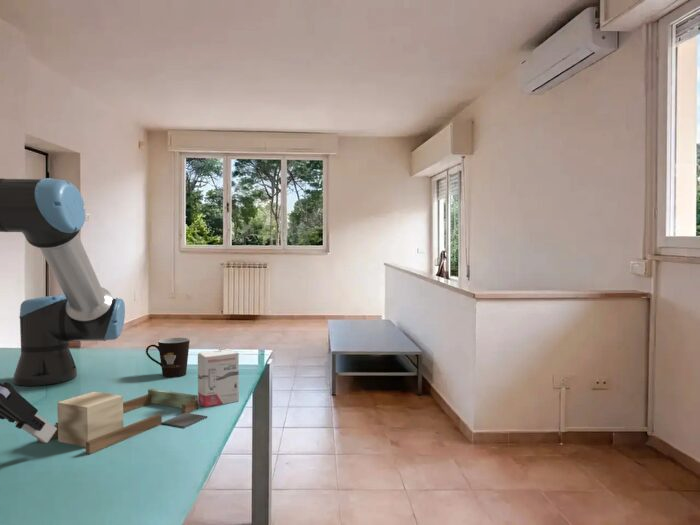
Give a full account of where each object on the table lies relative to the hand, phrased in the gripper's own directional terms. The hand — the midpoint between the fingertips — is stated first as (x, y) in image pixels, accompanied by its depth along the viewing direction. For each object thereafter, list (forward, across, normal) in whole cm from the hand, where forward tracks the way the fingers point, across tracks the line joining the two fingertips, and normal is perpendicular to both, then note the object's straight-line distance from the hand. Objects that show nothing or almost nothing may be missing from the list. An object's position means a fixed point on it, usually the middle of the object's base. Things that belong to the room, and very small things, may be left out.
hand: (49, 435), depth 91 cm
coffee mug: (+40, -22, +35) cm, 57 cm away
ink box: (+28, +8, +23) cm, 38 cm away
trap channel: (+14, 0, +9) cm, 17 cm away
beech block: (+8, 0, +4) cm, 9 cm away
